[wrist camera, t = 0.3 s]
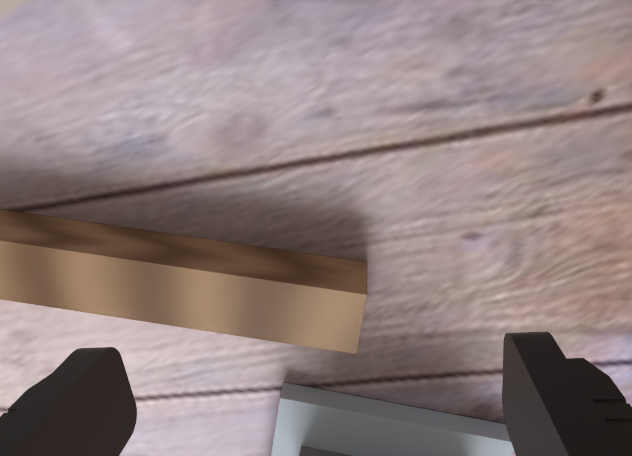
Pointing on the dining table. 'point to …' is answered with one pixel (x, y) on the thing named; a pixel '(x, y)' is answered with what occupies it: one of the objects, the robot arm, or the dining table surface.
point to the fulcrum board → (377, 428)
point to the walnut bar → (183, 281)
